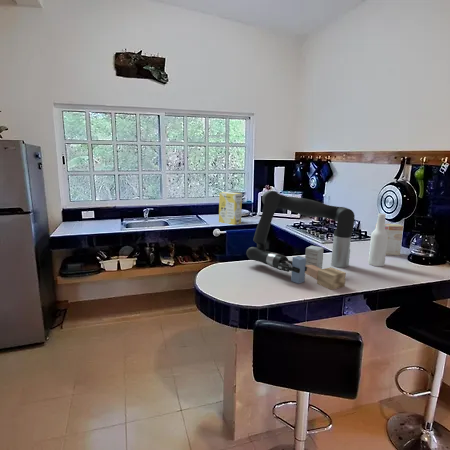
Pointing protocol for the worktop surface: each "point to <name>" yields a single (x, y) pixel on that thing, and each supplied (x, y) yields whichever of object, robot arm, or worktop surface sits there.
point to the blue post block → (299, 263)
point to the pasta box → (230, 207)
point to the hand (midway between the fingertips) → (302, 270)
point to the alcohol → (378, 243)
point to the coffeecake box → (393, 238)
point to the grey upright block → (314, 256)
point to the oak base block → (331, 278)
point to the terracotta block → (312, 271)
